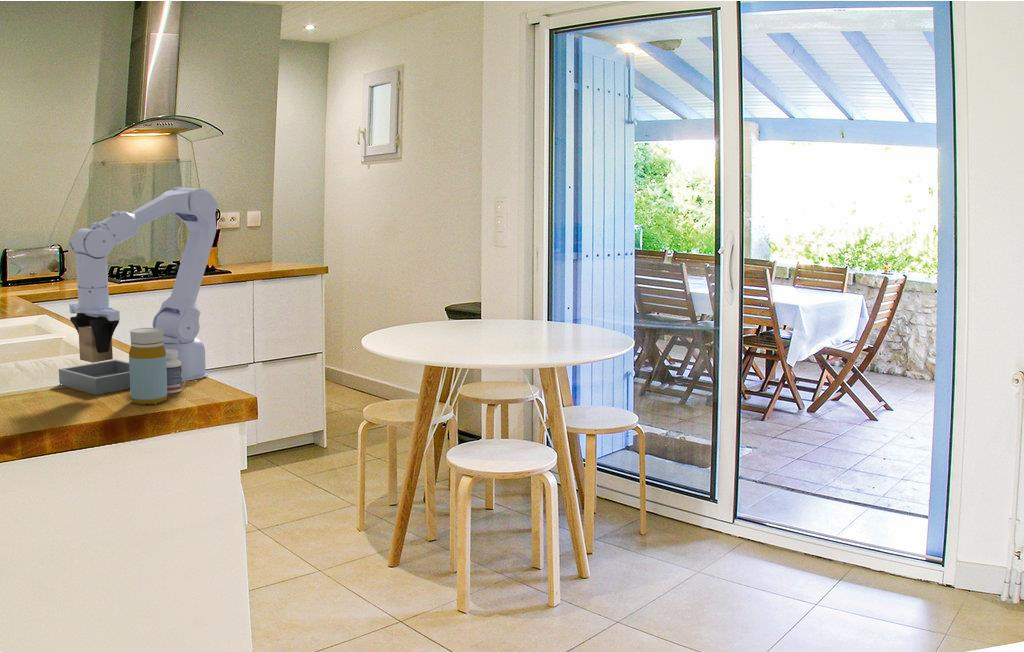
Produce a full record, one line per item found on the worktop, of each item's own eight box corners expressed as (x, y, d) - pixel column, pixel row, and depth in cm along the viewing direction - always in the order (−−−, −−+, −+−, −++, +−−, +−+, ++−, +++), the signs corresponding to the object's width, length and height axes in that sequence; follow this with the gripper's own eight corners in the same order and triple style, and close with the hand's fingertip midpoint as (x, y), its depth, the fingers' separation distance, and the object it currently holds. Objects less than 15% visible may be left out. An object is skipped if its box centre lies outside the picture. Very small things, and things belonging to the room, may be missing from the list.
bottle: (173, 402, 173) (170, 331, 171) (138, 407, 168) (136, 334, 166) (159, 395, 178) (156, 326, 176) (125, 400, 173) (122, 329, 171)
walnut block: (100, 356, 179) (98, 324, 178) (112, 359, 177) (111, 326, 176) (80, 359, 176) (78, 327, 174) (92, 362, 173) (91, 329, 172)
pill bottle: (186, 391, 182) (185, 351, 181) (163, 395, 178) (162, 354, 177) (175, 386, 186) (174, 347, 184) (152, 390, 182) (150, 350, 180)
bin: (116, 374, 195) (116, 359, 194) (153, 383, 188) (152, 368, 187) (59, 384, 183) (58, 369, 183) (96, 394, 176) (95, 378, 176)
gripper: (54, 284, 174) (57, 348, 176) (95, 291, 167) (98, 358, 169) (86, 282, 180) (89, 343, 182) (127, 288, 173) (130, 352, 175)
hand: (96, 350), depth 176 cm, fingers closed on walnut block, 4 cm apart
